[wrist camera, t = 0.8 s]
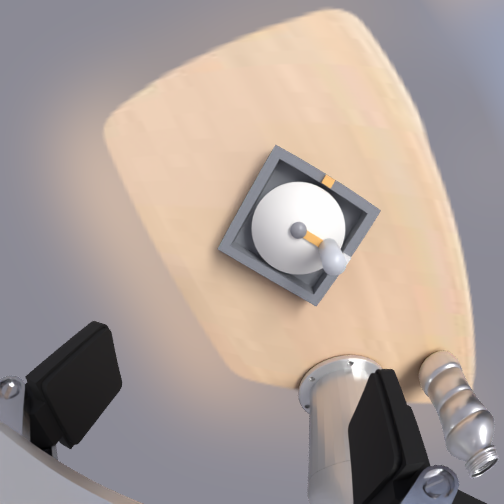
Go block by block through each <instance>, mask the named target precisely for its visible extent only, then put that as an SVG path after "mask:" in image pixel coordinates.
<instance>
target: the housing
mask: <svg viewBox="0 0 504 504" xmlns="http://www.w3.org/2000/svg"><path fill="white" fill-rule="evenodd" d="M289 182H307V183H311V184H314V185H316V186H318V187H320V188H322V189H323V190H325V191H326V192H328V193H329V194H330V195H331V196H332V197H333V198H334V199H335V201H336V202H337V203H338V205H339V207H340V208H341V211H342V213H343V216H344V221H345V237H344V241H343V244H342V247H341V251H342V253H343V255H344V257H345V259H346V265H347V264H348V262H349V261H350V259H351V256H352V255H353V253H354V252H355V250H356V249H357V247H358V246H359V244H360V243H361V241H362V240H363V238H364V237H365V235H366V234H367V232H368V230H369V229H370V227H371V226H372V224H373V223H374V221H375V219H376V218H377V216H378V215H379V213H380V211H381V210H379V209H378V208H377V207H375V206H374V205H372V204H371V203H369V202H368V201H366V200H365V199H364V198H362V197H361V196H359V195H358V194H356V193H355V192H353V191H352V190H350V189H349V188H347V187H345V186H344V185H342V184H341V183H339V182H338V181H336V180H335V179H333V178H331V177H330V176H328V175H327V174H325V173H323V172H322V171H320V170H319V169H317V168H315V167H314V166H312V165H310V164H309V163H307V162H305V161H303V160H302V159H300V158H298V157H297V156H295V155H293V154H291V153H290V152H288V151H286V150H284V149H283V148H281V147H279V146H277V145H275V147H274V149H273V150H272V152H271V154H270V155H269V157H268V159H267V161H266V162H265V164H264V166H263V168H262V169H261V171H260V173H259V175H258V176H257V178H256V180H255V182H254V183H253V185H252V187H251V189H250V191H249V192H248V194H247V196H246V198H245V200H244V201H243V203H242V205H241V207H240V209H239V210H238V212H237V214H236V216H235V218H234V219H233V221H232V223H231V225H230V227H229V229H228V230H227V232H226V234H225V236H224V238H223V240H222V241H221V243H220V245H219V247H218V250H220V251H222V252H223V253H225V254H227V255H228V256H230V257H232V258H233V259H235V260H237V261H239V262H240V263H242V264H244V265H245V266H247V267H249V268H250V269H252V270H254V271H256V272H257V273H259V274H261V275H262V276H264V277H266V278H268V279H269V280H271V281H273V282H275V283H276V284H278V285H280V286H281V287H283V288H285V289H287V290H288V291H290V292H292V293H294V294H295V295H297V296H299V297H301V298H302V299H304V300H306V301H307V302H309V303H311V304H313V305H314V306H317V305H318V303H319V302H320V301H321V299H322V298H323V297H324V295H325V294H326V292H327V291H328V290H329V288H330V287H331V285H332V284H333V283H334V281H335V280H336V278H337V277H338V275H336V276H332V275H329V274H327V273H326V272H325V271H324V269H323V268H322V269H320V270H318V271H315V272H312V273H309V274H298V275H297V274H289V273H285V272H282V271H280V270H278V269H276V268H274V267H272V266H271V265H269V264H268V263H267V262H266V261H265V260H264V259H263V258H262V257H261V255H260V254H259V252H258V251H257V249H256V247H255V244H254V241H253V237H252V219H253V215H254V212H255V210H256V208H257V206H258V204H259V203H260V201H261V200H262V199H263V198H264V196H265V195H267V194H268V193H269V192H270V191H271V190H273V189H274V188H276V187H278V186H280V185H282V184H285V183H289Z"/></svg>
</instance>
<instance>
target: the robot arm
mask: <svg viewBox="0 0 504 504" xmlns="http://www.w3.org/2000/svg"><path fill="white" fill-rule="evenodd" d="M26 379H27V383H26V384H25V383H24V382H23V380H22V379H21V378H19V377H17V376H6V377H4V378H1V379H0V504H143V503H140V502H138V501H135V500H133V499H130V498H128V497H126V496H123V495H121V494H119V493H117V492H115V491H113V490H110V489H108V488H106V487H104V486H102V485H100V484H98V483H96V482H94V481H92V480H90V479H88V478H87V477H85V476H83V475H81V474H79V473H78V472H76V471H74V470H72V469H71V468H69V467H67V466H66V465H64V464H62V463H61V462H59V461H58V457H57V448H56V444H57V442H58V441H59V442H60V443H61V444H63V445H64V446H66V447H68V448H69V449H71V448H72V447H73V446H74V445H75V444H78V443H79V442H80V441H81V440H82V439H83V437H84V436H85V435H86V433H87V432H88V431H89V429H90V428H91V427H92V426H93V424H94V423H95V422H96V420H97V419H98V418H99V416H100V415H101V414H102V413H103V411H104V410H105V409H106V407H107V406H108V405H109V404H110V402H111V401H112V400H113V398H114V397H115V396H116V395H117V393H118V392H119V391H120V389H121V387H122V380H121V375H120V371H119V367H118V363H117V358H116V353H115V349H114V344H113V338H112V333H111V331H110V330H109V328H108V326H107V325H105V324H102V323H99V322H96V321H93V322H91V323H90V324H88V325H87V326H86V327H84V328H83V329H82V330H81V331H79V332H78V333H77V334H76V335H74V336H73V337H72V338H71V339H70V340H68V341H67V342H66V343H65V344H63V345H62V346H61V347H60V348H59V349H58V350H56V351H55V352H54V353H53V354H51V355H50V356H49V357H48V358H47V359H46V360H44V361H43V362H42V363H41V364H40V365H38V366H37V367H36V368H35V369H34V370H33V371H31V372H30V373H29V374H28V375H27V376H26ZM299 401H300V404H301V406H302V408H303V409H304V410H305V411H306V412H307V413H309V414H310V425H309V465H308V487H307V496H308V501H309V503H310V504H487V503H485V502H482V501H480V500H478V499H476V498H474V497H472V496H470V495H468V494H466V493H464V492H462V491H460V490H458V487H459V480H458V477H457V475H456V473H455V472H454V471H453V470H452V469H450V468H449V467H447V466H443V465H434V466H430V463H429V460H428V456H427V453H426V450H425V447H424V443H423V441H422V437H421V434H420V431H419V428H418V425H417V422H416V419H415V417H414V414H413V411H412V409H411V407H410V406H408V405H407V404H406V401H405V398H404V395H403V393H402V390H401V387H400V384H399V382H398V379H397V377H396V374H395V372H394V370H393V369H382V368H381V366H380V365H379V364H378V363H377V362H375V361H374V360H372V359H370V358H367V357H364V356H358V355H343V356H338V357H333V358H331V359H328V360H325V361H323V362H321V363H319V364H317V365H316V366H315V367H313V368H312V369H311V370H310V371H309V372H307V373H306V375H305V376H304V377H303V379H302V381H301V383H300V386H299Z"/></svg>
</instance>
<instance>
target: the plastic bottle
mask: <svg viewBox="0 0 504 504" xmlns="http://www.w3.org/2000/svg"><path fill="white" fill-rule="evenodd" d="M419 382H420V386H421V388H422V389H423V391H424V392H425V394H426V395H427V396H428V397H429V398H430V400H431V402H432V403H433V405H434V407H435V409H436V410H437V413H438V416H439V419H440V422H441V425H442V428H443V433H444V438H445V444H446V448H447V450H448V452H449V453H450V454H451V455H452V456H454V457H456V458H458V459H460V460H463V461H466V462H467V463H466V464H465V467H466V469H467V470H468V473H469V476H470V478H476V477H478V476H480V475H482V474H484V473H485V472H487V471H488V470H490V469H491V468H492V467H493V466H494V465H495V464H496V463H497V462H498V460H499V457H498V454H497V452H496V447H495V446H494V445H491V444H492V440H493V435H494V428H495V423H494V418H493V416H492V414H491V413H490V412H489V411H488V409H486V407H485V406H484V405H483V404H482V403H481V401H480V400H479V399H478V398H477V396H476V395H475V393H474V392H473V390H472V389H471V388H470V386H469V384H468V382H467V380H466V378H465V376H464V374H463V372H462V368H461V365H460V363H459V361H458V359H457V358H456V357H455V356H454V355H453V354H452V353H451V352H448V351H438V352H435V353H433V354H431V355H430V356H429V357H427V358H426V359H425V361H424V362H423V364H422V365H421V368H420V370H419Z"/></svg>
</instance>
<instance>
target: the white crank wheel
mask: <svg viewBox="0 0 504 504" xmlns="http://www.w3.org/2000/svg"><path fill="white" fill-rule="evenodd" d="M252 237H253V241H254V244H255V247H256V249H257V251H258V252H259V254H260V255H261V257H262V258H263V259H264V260H265V261H266V262H267V263H268V264H269V265H271V266H272V267H274V268H276V269H278V270H280V271H282V272H285V273H289V274H297V275H298V274H309V273H312V272H315V271H318V270H320V269H322V268H323V269H324V271H325V272H326V273H327V274H329V275H332V276H336V275H339V274H341V273H342V272H343V271H344V270H345V268H346V259H345V257H344V255H343V253H342V251H341V247H342V244H343V241H344V237H345V221H344V216H343V213H342V211H341V208H340V207H339V205H338V203H337V202H336V201H335V199H334V198H333V197H332V196H331V195H330V194H329V193H328V192H326V191H325V190H323V189H322V188H320V187H318V186H316V185H314V184H311V183H307V182H289V183H285V184H282V185H280V186H278V187H276V188H274V189H273V190H271V191H270V192H269V193H268V194H267V195H265V196H264V198H263V199H262V200H261V201H260V203H259V204H258V206H257V208H256V210H255V212H254V215H253V219H252Z"/></svg>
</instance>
